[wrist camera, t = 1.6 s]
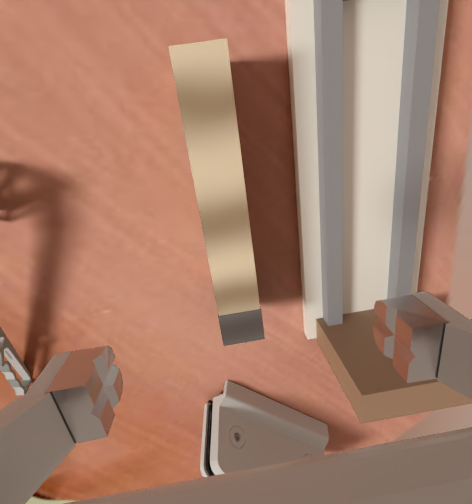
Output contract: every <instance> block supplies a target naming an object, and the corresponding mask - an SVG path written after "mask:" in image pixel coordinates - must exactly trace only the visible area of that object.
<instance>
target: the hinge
mask: <svg viewBox="0 0 472 504" xmlns="http://www.w3.org/2000/svg"><path fill="white" fill-rule="evenodd" d="M328 441H329V434H328V426H327V424H325V423H323V422H321V421H318V420H316V419H314V418H312V417H310V416H307V415H305V414H303V413H301V412H298V411H296V410H294V409H292V408H289V407H287V406H285V405H283V404H280V403H278V402H276V401H274V400H271V399H269V398H267V397H265V396H263V395H260V394H258V393H256V392H254V391H251V390H249V389H247V388H245V387H242V386H240V385H238V384H236V383H233V382H231V381H229V380H227V381H226V382H225V384H224V392H223V394H221V395H219V396H217V397H214V398H213V404H212V403H209V402H207V403H206V404H205V406H204V418H203V432H202V446H201V460H200V470H201V473H202V475H203V477H209V476H214V475H219V474H225V473H230V472H235V471H241V470H246V469H251V468H257V467H262V466H268V465H273V464H278V463H284V462H289V461H294V460H300V459H305V458H310V457H316V456H321V455H324V450H325V447H326V445H327V443H328Z"/></svg>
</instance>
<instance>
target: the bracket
mask: <svg viewBox="0 0 472 504" xmlns="http://www.w3.org/2000/svg"><path fill="white" fill-rule="evenodd" d="M4 355H5V357H6V358H7V359H8V361H9V362H10V363H11V365H12V366H13V367H14V368H15V370H16V371H17V372H18V374H19V375H20V376H21V377H22V382H20V380H19V379H18V378H17V377H16V374H15V372H14V371H13V370H12V369H11V365H10V363H9V362H8V361H4ZM0 370H1V372H2V373H3V374H4V375H5V377H6V380H7V381H9V383H10V384H11V387H12V388H14V390H15V392H16V395H25V394H26V393H27V391H28V388H29V386H30V383H31V381H32V379H31V375H30V373H29V371H28V370H27V368H26V366H25V365H24V363H23V362H22V360H21V359H20V357H19V355H18V354H17V352H16V351H15V349H14V348H13V346H12V344H11V343H10V341H9V340H8V338H7V337H6V335H5V333H4V332H3V330H2V329H1V327H0Z"/></svg>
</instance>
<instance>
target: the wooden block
mask: <svg viewBox="0 0 472 504" xmlns="http://www.w3.org/2000/svg"><path fill="white" fill-rule="evenodd" d="M168 47H169V52H170V58H171V63H172V69H173V74H174V79H175V85H176V90H177V95H178V101H179V106H180V111H181V117H182V122H183V127H184V133H185V138H186V143H187V149H188V154H189V159H190V165H191V170H192V175H193V181H194V186H195V191H196V197H197V202H198V207H199V213H200V218H201V223H202V229H203V234H204V240H205V245H206V250H207V256H208V261H209V266H210V272H211V277H212V282H213V288H214V293H215V298H216V304H217V309H218V318H219V323H220V329H221V334H222V339H223V345H224V346H226V345H232V344H237V343H243V342H249V341H255V340H260V339H265V338H264V329H263V321H262V313H261V308H260V303H259V295H258V287H257V278H256V270H255V262H254V254H253V246H252V238H251V230H250V222H249V213H248V205H247V197H246V189H245V181H244V173H243V165H242V157H241V149H240V140H239V132H238V124H237V116H236V108H235V100H234V92H233V84H232V76H231V67H230V59H229V51H228V43H227V38H226V39H219V40H211V41H204V42H196V43H189V44H181V45H174V46H168Z"/></svg>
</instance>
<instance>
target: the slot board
mask: <svg viewBox="0 0 472 504" xmlns="http://www.w3.org/2000/svg"><path fill="white" fill-rule="evenodd" d="M447 10H448V0H285V12H286V29H287V46H288V63H289V80H290V97H291V114H292V131H293V148H294V165H295V182H296V199H297V216H298V233H299V250H300V267H301V283H302V300H303V317H304V333H305V335H306V337H307V339H313V338H317V343H318V345H319V346H320V348H321V350H322V352H323V354H324V356H325V358H326V359H327V361H328V363H329V365H330V367H331V369H332V371H333V372H334V374H335V376H336V378H337V380H338V382H339V384H340V385H341V387H342V389H343V391H344V393H345V395H346V397H347V398H348V400H349V402H350V404H351V406H352V408H353V410H354V411H355V413H356V415H357V417H358V419H359V421H360V422H361V424H363V423H368V422H374V421H379V420H384V419H390V418H395V417H401V416H406V415H411V414H417V413H422V412H428V411H433V410H438V409H444V408H449V407H454V406H460V405H465V404H470V403H472V400H471V399H470V398H468V397H466V396H464V395H463V394H461V393H459V392H457V391H455V390H454V389H452V388H450V387H448V386H447V385H445V384H443V383H441V382H440V381H438V380H437V379H431V380H424V381H418V382H411V383H406V381H405V380H404V379H403V378H402V377H401V375H400V374H399V373H398V372H397V371H396V369H395V368H394V367H393V359H391V358H389V357H387V356H385V355H383V353H382V352H381V351H380V350H379V348H378V346H377V344H376V342H375V338H374V335H373V324H374V323H375V322H376V320H377V319H378V317H377V316H376V314H375V313H374V305H375V302H376V301H378V300H383V299H389V298H394V297H400V296H405V295H408V294H413V293H417V286H418V277H419V268H420V259H421V249H422V240H423V231H424V222H425V212H426V203H427V194H428V185H429V176H430V166H431V157H432V148H433V139H434V130H435V120H436V111H437V102H438V93H439V83H440V74H441V65H442V56H443V47H444V37H445V28H446V19H447Z"/></svg>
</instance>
